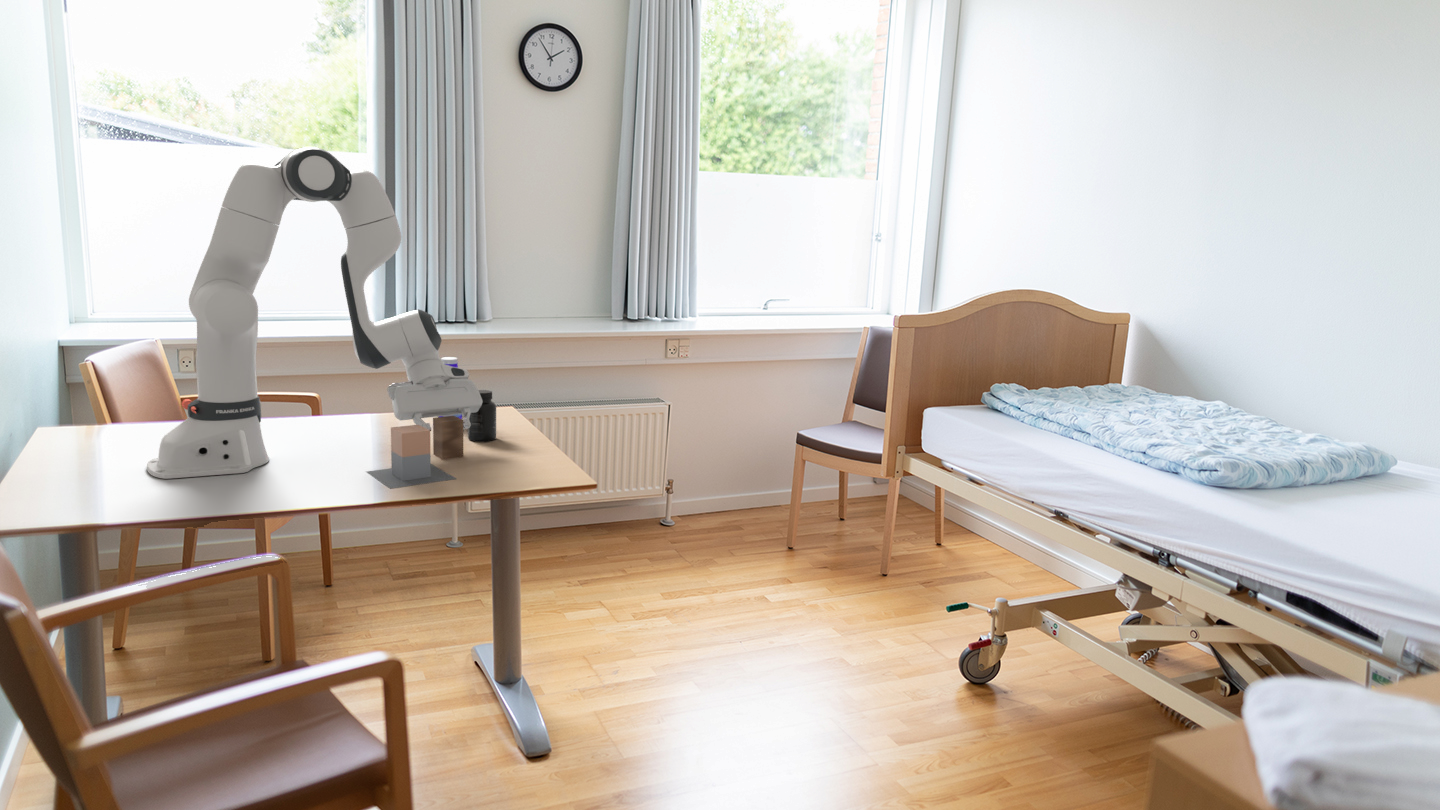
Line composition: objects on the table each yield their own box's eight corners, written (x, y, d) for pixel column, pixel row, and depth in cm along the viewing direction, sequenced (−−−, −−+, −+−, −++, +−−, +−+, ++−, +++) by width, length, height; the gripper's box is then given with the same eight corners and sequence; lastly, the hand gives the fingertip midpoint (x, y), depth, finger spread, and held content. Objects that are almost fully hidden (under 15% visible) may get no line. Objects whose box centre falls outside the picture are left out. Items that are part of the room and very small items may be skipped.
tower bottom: (402, 480, 188) (402, 457, 187) (391, 473, 193) (391, 450, 192) (430, 476, 192) (430, 453, 191) (419, 469, 196) (419, 447, 195)
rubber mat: (390, 490, 183) (390, 488, 183) (365, 473, 193) (365, 471, 193) (456, 480, 192) (456, 478, 192) (430, 464, 202) (430, 463, 202)
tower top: (402, 457, 187) (401, 433, 186) (391, 450, 192) (390, 427, 191) (430, 453, 191) (430, 430, 190) (419, 447, 195) (418, 424, 194)
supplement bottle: (501, 439, 227) (502, 392, 224) (477, 443, 222) (477, 395, 220) (486, 434, 231) (486, 387, 229) (462, 438, 226) (462, 390, 224)
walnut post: (442, 461, 205) (442, 422, 204) (433, 456, 209) (433, 417, 207) (463, 458, 209) (463, 420, 207) (454, 453, 212) (453, 415, 210)
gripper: (388, 375, 205) (406, 427, 200) (473, 369, 218) (492, 417, 213) (381, 391, 209) (398, 442, 204) (465, 384, 222) (484, 432, 217)
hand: (447, 429), depth 208 cm, fingers open, 8 cm apart
